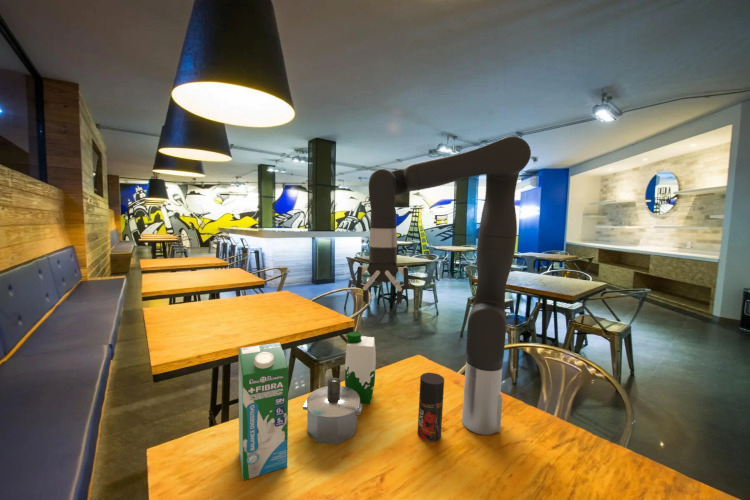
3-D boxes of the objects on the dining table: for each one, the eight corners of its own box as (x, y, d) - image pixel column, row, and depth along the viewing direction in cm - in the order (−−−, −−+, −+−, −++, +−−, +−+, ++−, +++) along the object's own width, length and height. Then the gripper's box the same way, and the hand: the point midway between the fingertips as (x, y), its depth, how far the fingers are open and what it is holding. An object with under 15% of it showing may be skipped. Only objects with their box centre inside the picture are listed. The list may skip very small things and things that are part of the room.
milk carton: (243, 481, 66) (242, 364, 64) (239, 452, 74) (238, 347, 72) (287, 467, 71) (288, 356, 68) (279, 441, 79) (280, 341, 76)
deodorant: (445, 434, 83) (448, 378, 82) (432, 445, 79) (435, 387, 77) (426, 423, 87) (429, 370, 86) (412, 433, 83) (415, 378, 81)
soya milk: (346, 389, 103) (347, 328, 101) (374, 390, 103) (376, 329, 101) (342, 405, 94) (344, 338, 92) (373, 406, 94) (376, 340, 92)
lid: (362, 390, 90) (363, 370, 89) (355, 420, 76) (356, 397, 76) (314, 386, 91) (315, 366, 90) (299, 415, 77) (299, 392, 77)
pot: (363, 416, 90) (364, 392, 89) (357, 446, 78) (358, 418, 77) (311, 411, 91) (311, 387, 90) (297, 440, 79) (297, 413, 78)
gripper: (409, 244, 91) (407, 301, 93) (358, 243, 92) (358, 299, 94) (410, 246, 84) (408, 308, 85) (355, 245, 85) (354, 306, 86)
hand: (382, 303), depth 89 cm, fingers open, 8 cm apart
